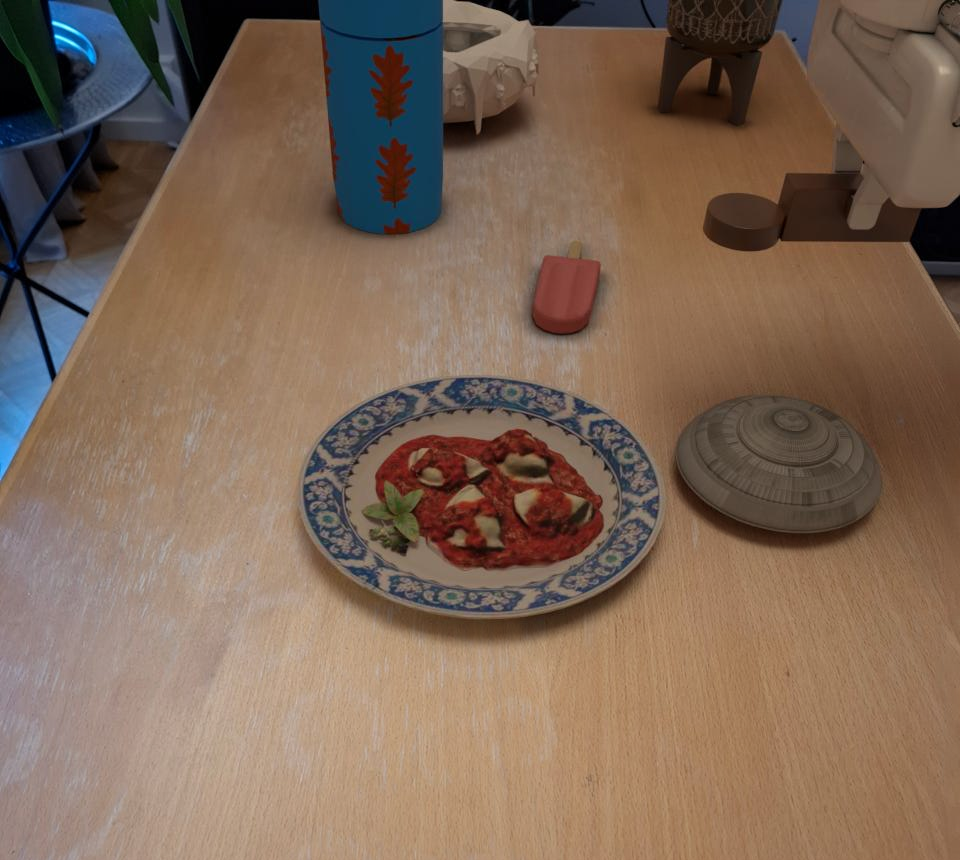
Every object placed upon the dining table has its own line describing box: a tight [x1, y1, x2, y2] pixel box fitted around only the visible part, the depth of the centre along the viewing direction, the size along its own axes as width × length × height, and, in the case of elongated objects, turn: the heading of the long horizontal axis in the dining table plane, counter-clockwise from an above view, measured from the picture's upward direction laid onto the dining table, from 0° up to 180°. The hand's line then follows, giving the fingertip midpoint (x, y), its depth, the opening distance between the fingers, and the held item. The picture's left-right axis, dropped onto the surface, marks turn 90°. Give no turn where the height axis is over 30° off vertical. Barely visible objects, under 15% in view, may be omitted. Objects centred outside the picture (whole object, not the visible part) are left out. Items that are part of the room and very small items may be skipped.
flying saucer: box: [675, 393, 883, 534], centre depth 72 cm, size 15×15×6 cm
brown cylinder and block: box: [702, 172, 922, 253], centre depth 67 cm, size 14×5×4 cm, turn 93°
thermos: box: [317, 0, 444, 235], centre depth 91 cm, size 11×11×25 cm
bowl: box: [443, 0, 540, 135], centre depth 112 cm, size 21×20×10 cm
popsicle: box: [531, 240, 602, 335], centre depth 90 cm, size 5×2×15 cm
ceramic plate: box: [296, 374, 667, 620], centre depth 70 cm, size 26×26×3 cm
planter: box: [657, 0, 784, 126], centre depth 112 cm, size 13×13×18 cm
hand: (848, 210), depth 67 cm, fingers closed on brown cylinder and block, 2 cm apart
